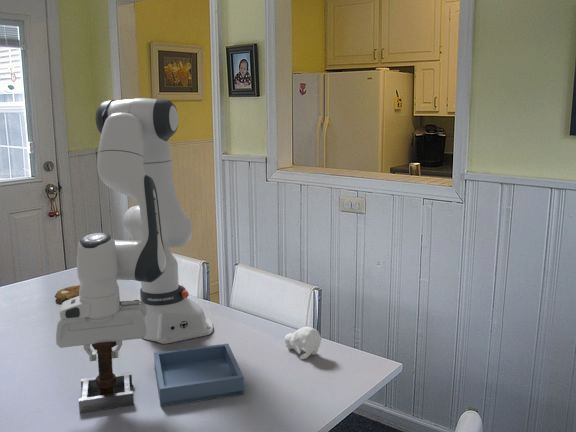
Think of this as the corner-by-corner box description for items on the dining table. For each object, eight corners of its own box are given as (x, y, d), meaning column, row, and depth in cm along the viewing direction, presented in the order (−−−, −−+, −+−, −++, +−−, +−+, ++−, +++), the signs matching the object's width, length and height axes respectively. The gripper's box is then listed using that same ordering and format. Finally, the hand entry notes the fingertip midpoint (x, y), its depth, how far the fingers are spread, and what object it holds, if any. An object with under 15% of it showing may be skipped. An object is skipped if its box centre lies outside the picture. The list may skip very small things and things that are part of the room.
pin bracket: (132, 383, 145) (131, 372, 144) (133, 405, 135) (132, 393, 134) (81, 390, 141) (81, 379, 141) (79, 413, 131) (78, 401, 131)
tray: (228, 358, 158) (228, 343, 157) (244, 394, 140) (243, 377, 139) (154, 368, 153) (153, 352, 152) (160, 406, 134) (159, 389, 133)
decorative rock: (81, 290, 216) (49, 304, 203) (79, 279, 215) (47, 293, 202) (103, 293, 211) (72, 308, 198) (102, 282, 210) (70, 296, 197)
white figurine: (306, 332, 154) (277, 324, 163) (308, 363, 155) (279, 352, 164) (322, 326, 158) (293, 318, 167) (324, 356, 159) (295, 346, 168)
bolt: (121, 392, 141) (119, 334, 138) (116, 402, 136) (113, 343, 133) (98, 392, 140) (94, 334, 137) (91, 403, 135) (88, 343, 132)
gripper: (145, 294, 139) (148, 347, 142) (55, 303, 133) (60, 358, 136) (146, 303, 133) (150, 358, 136) (52, 313, 127) (57, 370, 130)
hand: (104, 358), depth 136 cm, fingers closed on bolt, 4 cm apart
